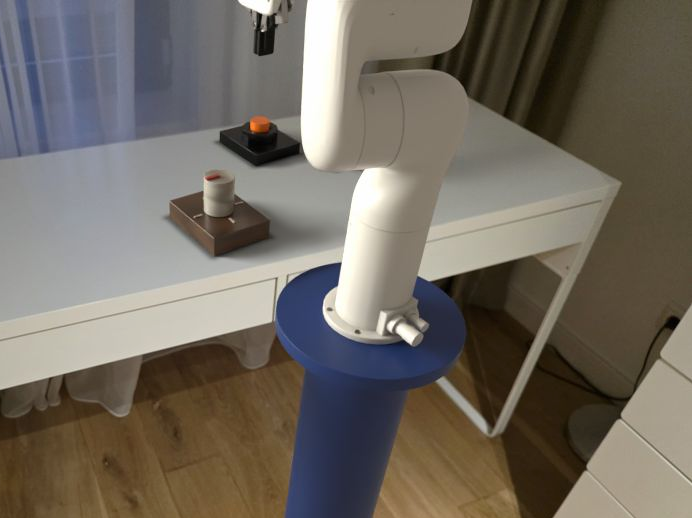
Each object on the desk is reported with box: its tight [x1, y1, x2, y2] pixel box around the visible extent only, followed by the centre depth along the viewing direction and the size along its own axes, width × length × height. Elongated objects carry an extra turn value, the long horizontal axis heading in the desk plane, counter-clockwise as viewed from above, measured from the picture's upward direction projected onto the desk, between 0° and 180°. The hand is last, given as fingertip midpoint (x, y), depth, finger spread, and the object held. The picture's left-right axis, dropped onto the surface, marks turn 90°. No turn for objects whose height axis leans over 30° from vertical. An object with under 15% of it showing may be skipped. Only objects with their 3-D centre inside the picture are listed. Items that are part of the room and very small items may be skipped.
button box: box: [218, 120, 301, 167], centre depth 122 cm, size 12×10×4 cm
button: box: [249, 116, 271, 132], centre depth 121 cm, size 4×4×2 cm
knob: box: [203, 169, 236, 217], centre depth 98 cm, size 5×5×6 cm
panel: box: [168, 190, 271, 257], centre depth 101 cm, size 13×10×3 cm
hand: (263, 53), depth 113 cm, fingers closed
